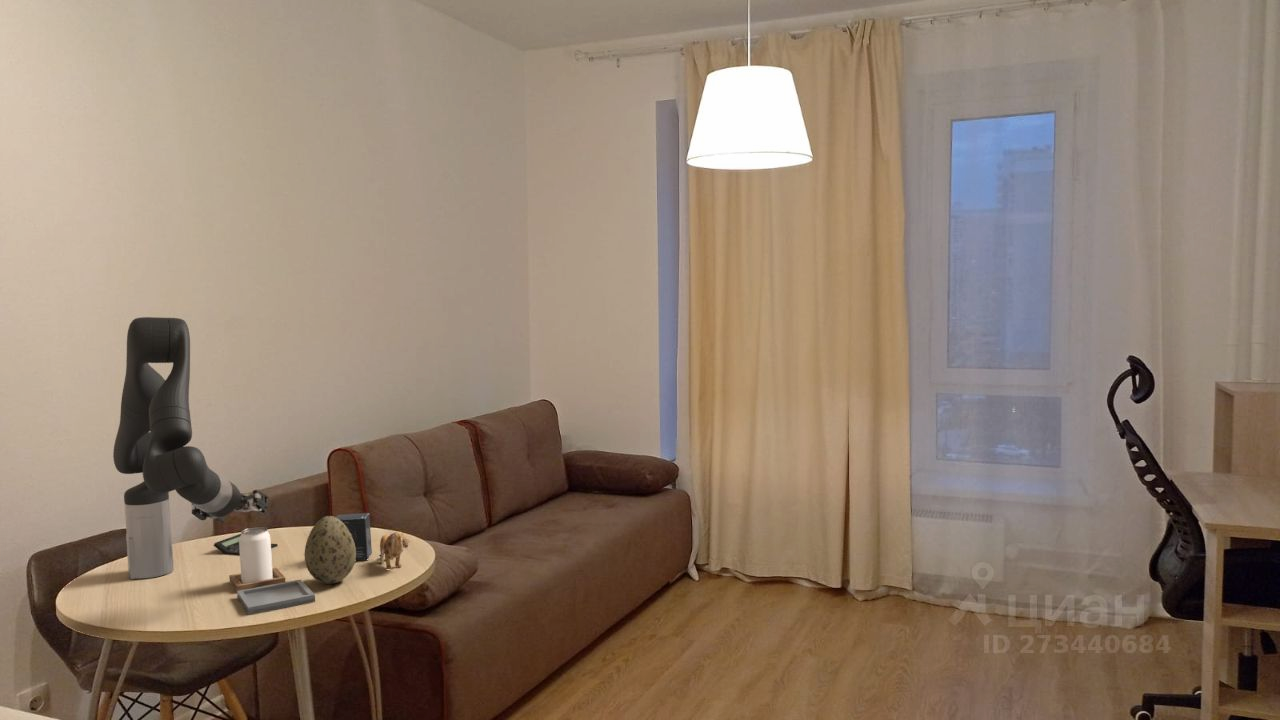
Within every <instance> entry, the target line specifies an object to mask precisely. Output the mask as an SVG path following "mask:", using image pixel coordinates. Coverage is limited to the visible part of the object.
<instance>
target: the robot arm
mask: <svg viewBox="0 0 1280 720" xmlns="http://www.w3.org/2000/svg"><path fill="white" fill-rule="evenodd" d="M127 329H128V330H127V333H126V334H127V335H126V362H125V363H126V364H125V365H126V366H125V376H124V381H123V382H124V383H123V388H122V393H121V399H120V400H121V402H120V417H119V426H118V430H117V433H116V437H115V441H114V446H113V453H112V454H113V455H112V457H113V464H114V466H115V468H116V470H117V472H119V473H121V474H124V475H134V474H141V473H142V479H143V481H142V482H141V483H139V484H136V485H135V486H132V487H130V488H128V489H127V490H125V492H124V493H123V502H124V516H125V528H126V529H125V530H126V531H125V532H126V534H125V540H126V553H127V554H126V555H127V556H126V557H127V568H128V575H129V579H130V580H136V579H150V578H156V577H162V576H165V575H168V574H170V573H172V572H174V570H175V568H174V552H173V539H172V521H171V520H172V519H171V509H170V508H171V507H170V492H172V491H176V493H177V495H179V496H180V497H182V498H183V499H184V500H186V501H188V502H189V503H191V514H192V515H193V516H194V517H196V518H197V519H198V520H200V521H205V520H207V518H210V519H209V520H216V521H218V522H220V523H225V522H226V519H227V518H226V517H227V516H228V515H230V514H231V513H237V512H240V513H241V512H243V513H249V512H252V511H255V512H257V513H259V515H262V516H263V515H266V513H267V512H268V509H269V508H270V497H269V495H267V494H266V493H264V492H262V491H260V490H259V489H254V490H252V494H246V493H242V492H241V491H240V489H239V488H238V487H237V485H235V484H234V483H232V482H231V481H230V480H228V479H227V478H226V477H224V476H223V475H221V474H220V473H218V472H214V470H212V469H211V468H209V466H208V465H207V461H206V458H205V456H204V454H203V452H202V451H201V449H199V448H198V447H196V446H191V445H188V443H190V442H191V441H192V438H193V427H192V419H191V411H190V399H189V398H190V395H189V394H190V377H191V375H190V374H191V336H190V330H189V326H188V324H187V322H186V321H185V320H184V319H182V318H178V317H153V316H151V317H150V316H147V317H146V316H144V317H136V318H134V319H133V320H131V322H130V324H129V326H128V328H127ZM167 363H168V364H169V363H170V364H172V367H171V371H170V373H169V375H168V376H167V377H166V379H165V378H164V377H163V376H162V375H161V374H160V373H159V372H158V371H157V370H156V369H154V368H153V367H152V366H151V365H150V364H167ZM187 445H188V446H187ZM253 505H255V506H253Z"/></svg>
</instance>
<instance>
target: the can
mask: <svg viewBox="0 0 1280 720" xmlns="http://www.w3.org/2000/svg"><path fill="white" fill-rule="evenodd" d="M268 530H269V529H268V528H267V527H262V526H261V527H252V528H251V527H250V528H245V529H243V530H241V531H240V534H241V536H240V538H239V548H240V555H239V563H240V564H239V565H240V573H241V580H242V581H241V584H246V583H252V582H257V581H263V580H268V579H274V576H273V574H272V568H273V559H272V558H273V557H272V548H271V544H272V543H271V535H270V533H269V531H268Z"/></svg>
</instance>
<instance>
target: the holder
mask: <svg viewBox="0 0 1280 720" xmlns="http://www.w3.org/2000/svg"><path fill="white" fill-rule="evenodd" d="M272 574H273V579H268V580H263V581H257V582H252V583H246V584H242V583H241V582H242V580H241V572H240V573H235V574H230V575H228V578H229V579H228V580H229V583H230V585H231V586H232V587H233V590H235V592H236V593H237V591H240V590H246V589H251V588H256V587H262V586H267V585H273V584H278V583H284V582H286V576H284V574H283V573H282V572H281V571H280V570H279V569H278V567H276V566H273V567H272Z"/></svg>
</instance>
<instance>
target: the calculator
mask: <svg viewBox="0 0 1280 720" xmlns="http://www.w3.org/2000/svg"><path fill="white" fill-rule="evenodd" d="M240 536H241V533H239V534H236V535H233V536H230V537H228V538H224V539H222V540H220V541H217V542H214V543H213V547H214V548H216V549H217V550H218V551H220V552H222V553H223V554H225V555H228V556H232V555H233V556H240V548H239V538H240ZM276 547H278V543H271V549H273V548H276Z"/></svg>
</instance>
